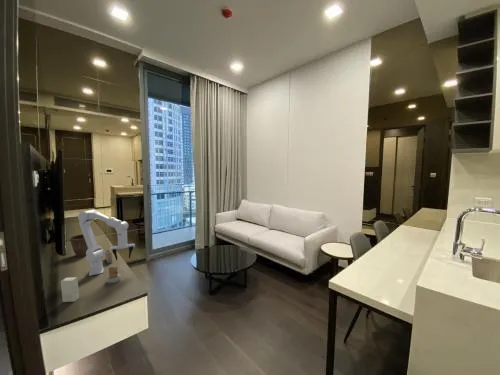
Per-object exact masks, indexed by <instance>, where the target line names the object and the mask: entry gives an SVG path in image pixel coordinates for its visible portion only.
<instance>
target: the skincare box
mask: <svg viewBox="0 0 500 375" xmlns="http://www.w3.org/2000/svg"><path fill="white" fill-rule="evenodd" d="M60 289H61V297H62V298H61V299H62V303H71V302H72V303H74V302H75V301H78V299H79V298H80V291H79V281H78V276H75V277H65V278H63V279H61V280H60Z"/></svg>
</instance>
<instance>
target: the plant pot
mask: <svg viewBox="0 0 500 375" xmlns="http://www.w3.org/2000/svg"><path fill="white" fill-rule="evenodd" d="M69 240H70V241H69V242H70V245H71V247H72V251H73V252H74V254H75V256H76V257H77V256H78V257H80V256H81V257H85V256H86V251H87V250H88V246H87V244H86V241H85V238H84V236H83V233H82V234H77V235H74V236H71V237H69Z"/></svg>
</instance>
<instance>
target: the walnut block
mask: <svg viewBox="0 0 500 375" xmlns="http://www.w3.org/2000/svg"><path fill="white" fill-rule="evenodd" d="M118 274H119V273H118V266H113V267H108V276H109V279H111V278H116V277H118Z"/></svg>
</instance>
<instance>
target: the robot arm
mask: <svg viewBox="0 0 500 375" xmlns="http://www.w3.org/2000/svg"><path fill="white" fill-rule="evenodd" d="M77 219H78V222H79V227H80V230H81V232H82V234H83V236H84V238H85V241H86V244H87V246H88V250H87V251H86V255H85V256H86V257H85V258H86V260H87V262H88V263H89V272H88V273H89V274H88V276H89V277H90V276H93V275H94V276H95V275H100V274H103V273H104V266H103V257H104V256H105V250H104V248H102V246H101V245H99V244H98V243H97V240H96V237H95V234H94V231H93V228H92V227H91V223H92V222H93V221H94V220H95V219H96V220H99V221H102V222H104V223H106V225H107V226H109V227H110V228H114V229H115V231H116V235H117V236H116V237H117V245H114V246H111V247H109V251H112V252H111V253H112V255H114V257H115V261H118V253H117V252H118V251H117V250H123V249H128V259H131V256H132V253H133V250H134V248H135V247H136V244H135V243H128V229H129V226H130V225H129V223H128V222H127V221H126V220H123V221H122V220H120V219H117V218H116V217H114V216H110V217H109V216H107V215H105V214H102V213H101V212H99V210H98V209H89V210H84V211H83V210H82V211H80V212H79V213H78V215H77Z"/></svg>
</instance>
